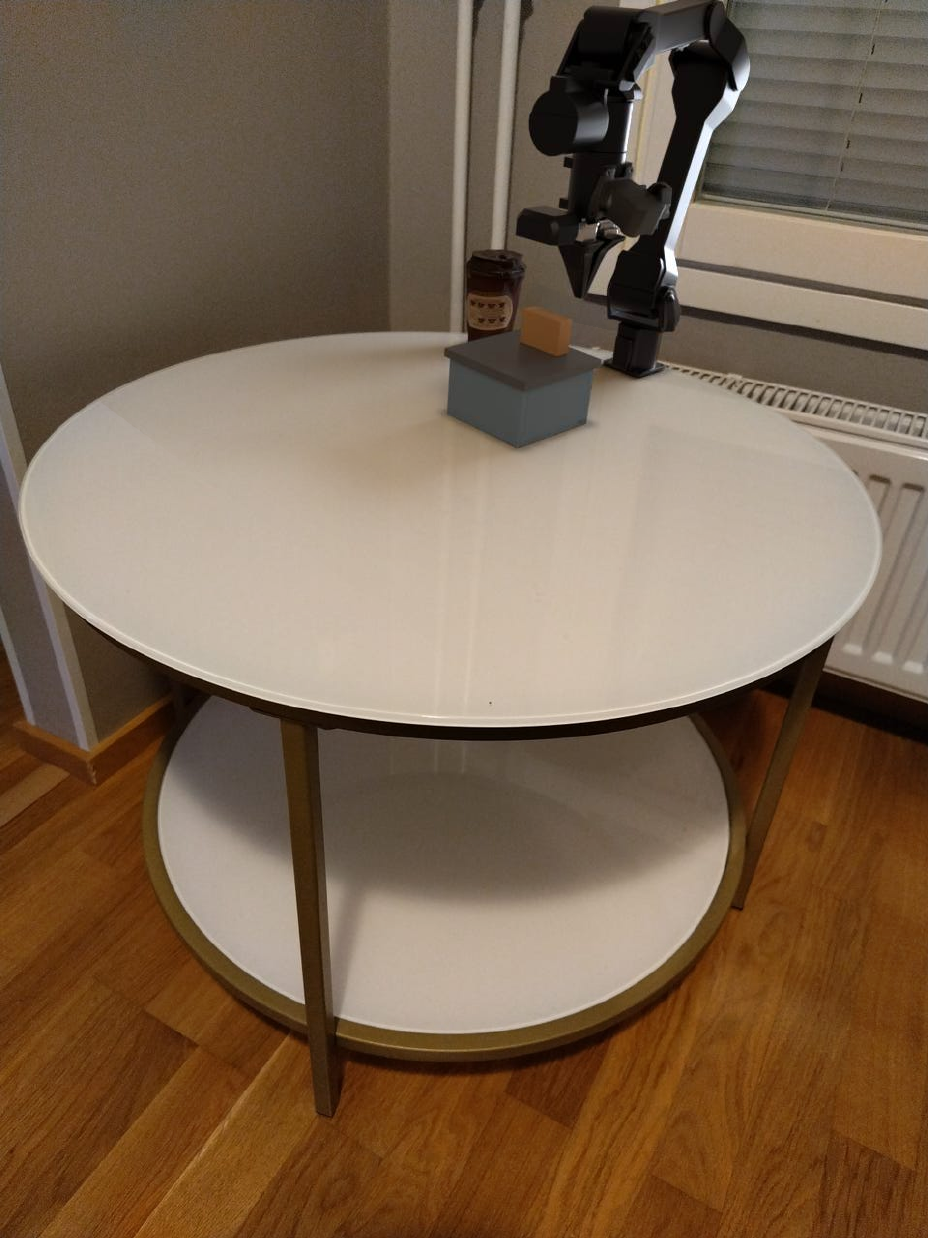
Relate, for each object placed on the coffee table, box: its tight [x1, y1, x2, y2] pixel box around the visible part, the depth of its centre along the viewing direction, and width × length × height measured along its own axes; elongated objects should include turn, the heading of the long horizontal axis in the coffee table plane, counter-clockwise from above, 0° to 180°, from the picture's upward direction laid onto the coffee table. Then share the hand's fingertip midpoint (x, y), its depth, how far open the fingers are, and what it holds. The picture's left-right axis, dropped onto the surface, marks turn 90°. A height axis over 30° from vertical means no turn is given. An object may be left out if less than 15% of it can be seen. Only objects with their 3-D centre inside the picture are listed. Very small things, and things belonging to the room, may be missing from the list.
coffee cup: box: [465, 248, 528, 342], centre depth 121 cm, size 9×8×13 cm
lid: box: [443, 305, 603, 391], centre depth 99 cm, size 13×13×5 cm
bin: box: [446, 359, 595, 449], centre depth 102 cm, size 12×12×7 cm
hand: (579, 297), depth 102 cm, fingers closed
